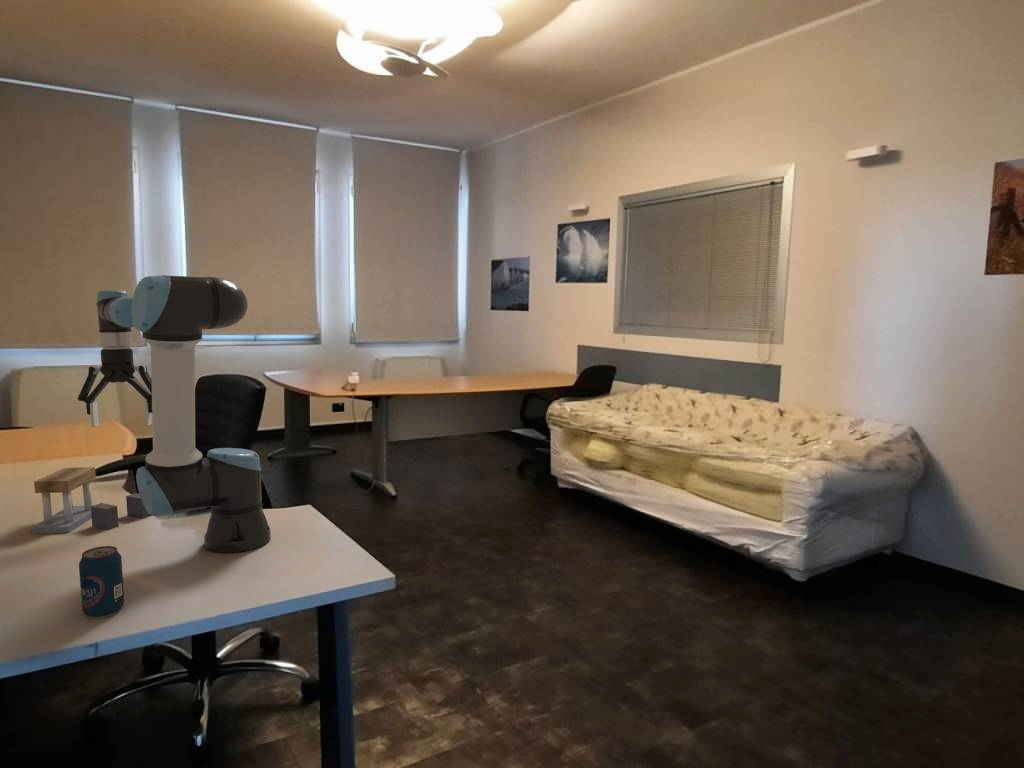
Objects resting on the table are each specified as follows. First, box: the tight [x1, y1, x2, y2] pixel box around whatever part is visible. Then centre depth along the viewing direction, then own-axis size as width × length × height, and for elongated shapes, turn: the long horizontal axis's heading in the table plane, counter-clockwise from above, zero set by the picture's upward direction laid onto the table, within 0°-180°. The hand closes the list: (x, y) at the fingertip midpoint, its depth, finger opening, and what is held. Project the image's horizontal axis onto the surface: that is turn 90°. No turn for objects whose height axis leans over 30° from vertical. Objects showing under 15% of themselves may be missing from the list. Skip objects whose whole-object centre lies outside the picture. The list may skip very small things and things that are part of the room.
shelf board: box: [33, 466, 97, 494], centre depth 178 cm, size 8×14×3 cm, turn 6°
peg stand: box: [30, 481, 93, 535], centre depth 179 cm, size 9×18×10 cm, turn 7°
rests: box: [91, 492, 152, 531], centre depth 180 cm, size 6×13×6 cm, turn 156°
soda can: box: [78, 545, 125, 619], centre depth 128 cm, size 7×7×12 cm
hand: (122, 425), depth 184 cm, fingers open, 13 cm apart
